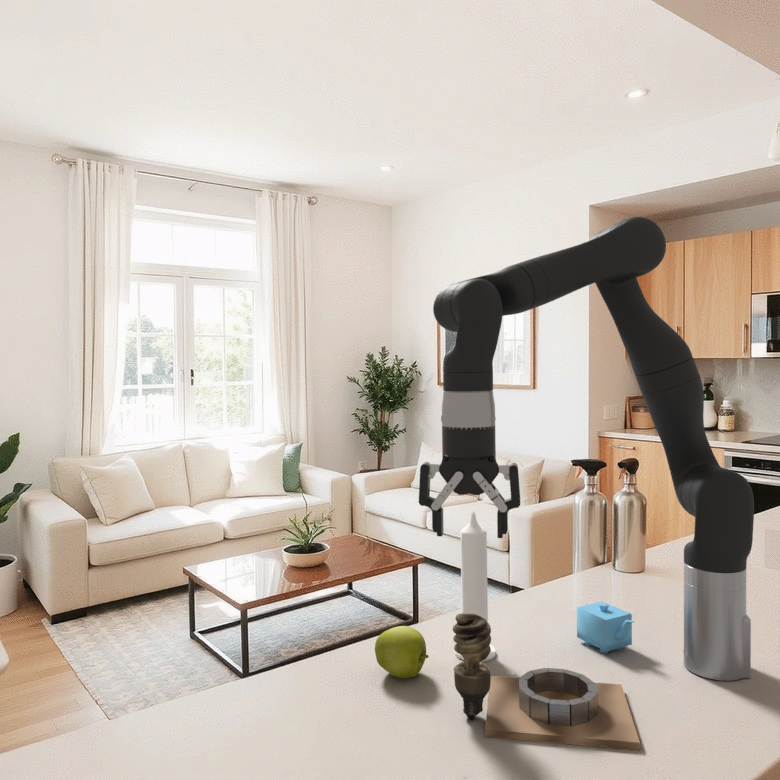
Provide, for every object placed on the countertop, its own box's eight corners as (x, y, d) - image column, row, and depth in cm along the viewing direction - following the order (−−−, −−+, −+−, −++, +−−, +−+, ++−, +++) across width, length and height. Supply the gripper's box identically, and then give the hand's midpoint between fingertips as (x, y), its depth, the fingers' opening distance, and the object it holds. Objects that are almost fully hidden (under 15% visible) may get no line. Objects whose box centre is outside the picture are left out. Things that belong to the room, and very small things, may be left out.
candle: (494, 664, 114) (492, 517, 112) (452, 661, 115) (450, 516, 114) (496, 646, 120) (494, 508, 119) (457, 644, 122) (455, 507, 121)
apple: (423, 691, 105) (422, 640, 104) (368, 682, 108) (367, 633, 108) (437, 669, 112) (436, 622, 112) (386, 661, 115) (385, 615, 115)
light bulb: (450, 707, 99) (449, 607, 99) (487, 705, 100) (485, 605, 99) (457, 728, 94) (456, 622, 93) (496, 725, 94) (495, 620, 94)
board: (621, 690, 104) (621, 684, 103) (639, 750, 88) (639, 742, 88) (490, 681, 107) (490, 675, 107) (485, 736, 92) (485, 729, 92)
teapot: (647, 656, 115) (647, 613, 115) (621, 664, 113) (621, 620, 112) (595, 632, 126) (595, 593, 126) (571, 639, 123) (570, 598, 123)
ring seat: (592, 690, 102) (592, 670, 102) (601, 729, 91) (601, 707, 91) (519, 685, 104) (518, 666, 104) (519, 722, 93) (519, 701, 93)
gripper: (519, 420, 98) (520, 531, 98) (422, 420, 100) (424, 528, 101) (519, 425, 90) (520, 545, 91) (414, 425, 93) (416, 541, 94)
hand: (469, 536), depth 96 cm, fingers open, 8 cm apart
